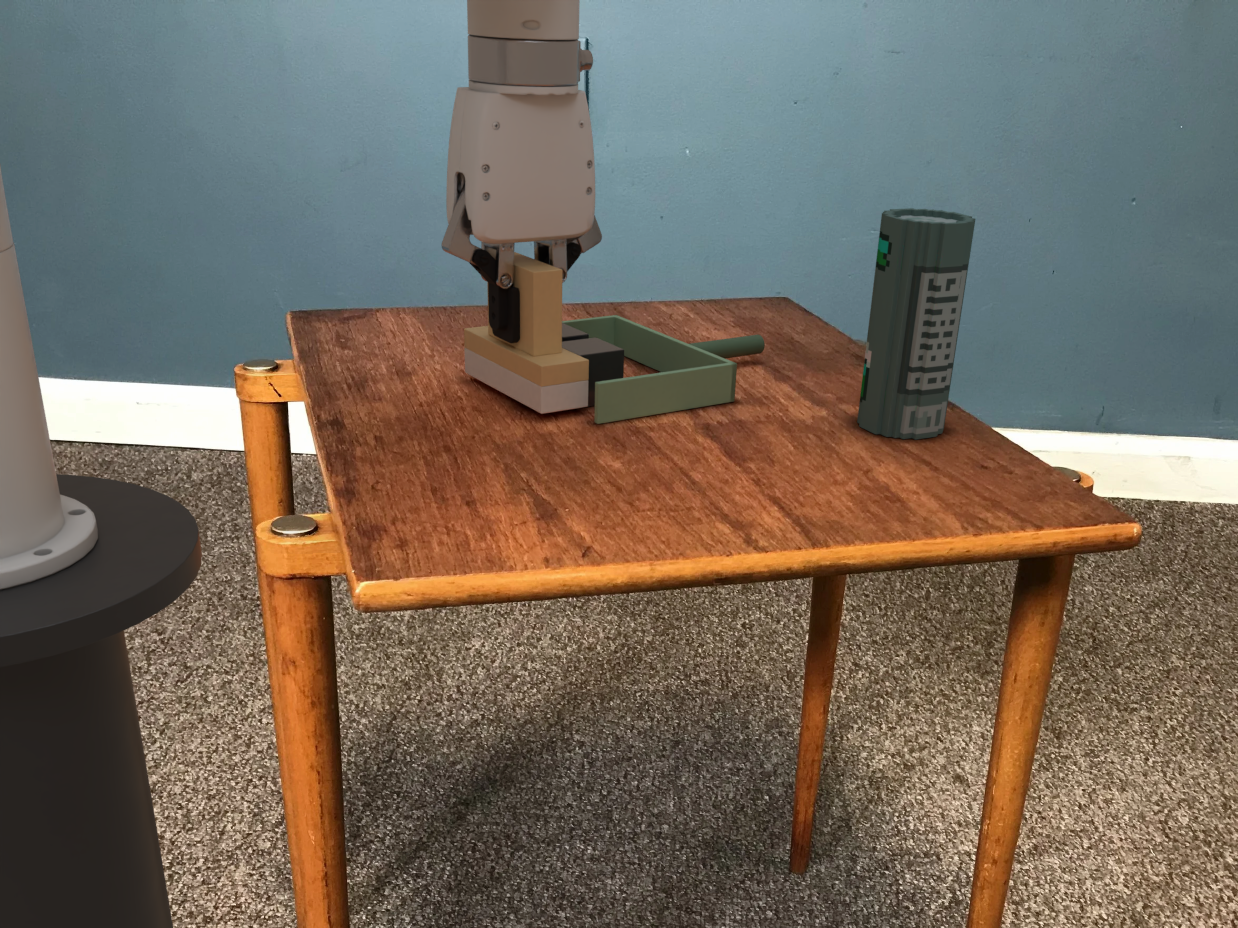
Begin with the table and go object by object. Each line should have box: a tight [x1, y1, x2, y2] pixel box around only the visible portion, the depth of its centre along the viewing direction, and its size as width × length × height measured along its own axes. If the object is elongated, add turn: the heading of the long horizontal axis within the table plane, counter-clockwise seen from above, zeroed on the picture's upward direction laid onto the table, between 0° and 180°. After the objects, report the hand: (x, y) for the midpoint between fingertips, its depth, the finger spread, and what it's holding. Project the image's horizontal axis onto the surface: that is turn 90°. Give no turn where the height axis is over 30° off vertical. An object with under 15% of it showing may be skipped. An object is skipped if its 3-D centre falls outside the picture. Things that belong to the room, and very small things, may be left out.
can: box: [856, 207, 976, 440], centre depth 93 cm, size 6×6×15 cm
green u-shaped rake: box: [562, 314, 766, 425], centre depth 105 cm, size 22×17×3 cm
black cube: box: [562, 338, 625, 409], centre depth 99 cm, size 4×4×4 cm
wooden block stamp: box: [463, 251, 589, 415], centre depth 97 cm, size 4×12×10 cm, turn 35°
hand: (524, 334), depth 97 cm, fingers closed on wooden block stamp, 2 cm apart
